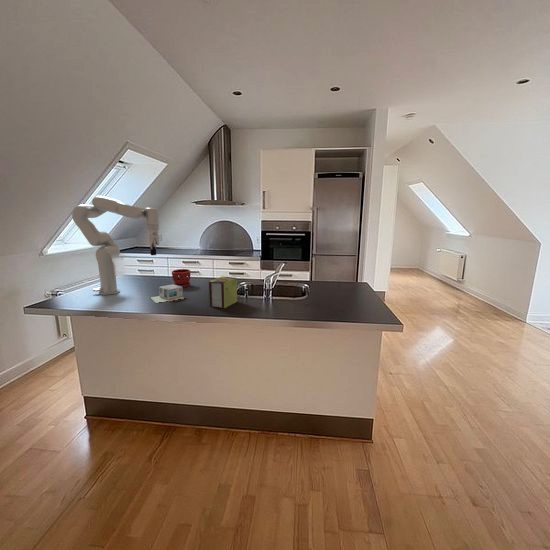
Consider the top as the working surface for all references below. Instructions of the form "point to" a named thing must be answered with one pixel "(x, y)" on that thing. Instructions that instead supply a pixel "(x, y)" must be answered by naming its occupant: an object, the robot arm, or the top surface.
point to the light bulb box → (170, 291)
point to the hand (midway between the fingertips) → (153, 255)
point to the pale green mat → (164, 299)
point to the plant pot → (181, 277)
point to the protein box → (223, 291)
